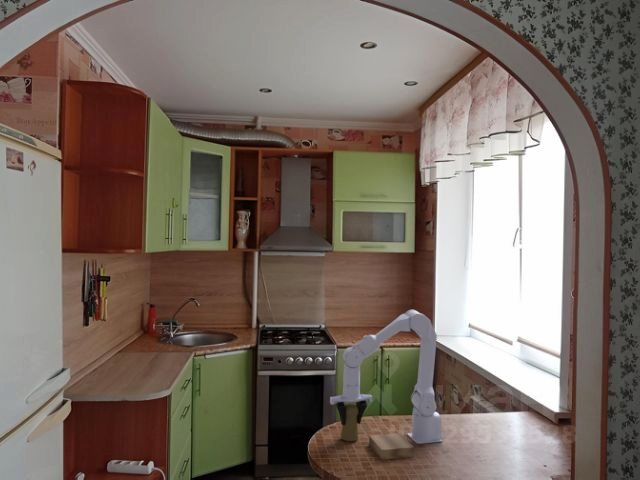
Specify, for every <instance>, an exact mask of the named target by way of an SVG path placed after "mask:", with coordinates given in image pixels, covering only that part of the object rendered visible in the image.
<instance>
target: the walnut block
mask: <svg viewBox="0 0 640 480" xmlns="http://www.w3.org/2000/svg"><path fill="white" fill-rule="evenodd" d="M368 446H370V448H371V449H372V450H373V451H374V452H375V454H376V455H377V456H378V457H379V459H380V460H391V459H393V460H395V459H400V458H401V459H403V458H412V457H413V458H414V457H415V446H414V445H413V444H412V443H411V442H409V440H408V439H406V437H404V435H402V434H401V432H398V433H388V434H387V433H386V434H375V435H368Z"/></svg>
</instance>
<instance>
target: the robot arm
mask: <svg viewBox="0 0 640 480" xmlns="http://www.w3.org/2000/svg"><path fill="white" fill-rule="evenodd" d="M411 330H412V331H413V332H415V333H416V334H417V336H419V338H420V348H419V358H418V370H417V382H416V383H415V385H414V389H413V392H412V394H411V396H410V401H411V403H412V405H413V408H412V417H411V418H412V419H411V420H412V421H411V422H412V423H411V432H408V433H407V436H408V437H409V438H410V439H411V440H412V441H413V442H415V443H416V444H418V445H419V444H430V443H440V442H441V443H442V442H443V440H442V419H441V416H440V414H439V412H438V411H436V410H437V402H436V400H435V396H436V395H435V391H434V387H433V383H434V374H435V373H434V372H435V371H434V370H435V362H436V361H435V360H436V351H437V339H438V336H437V333H436V331H435V329H434V326H433V324H432V321H431V320H430V319H429V318H428V317H427V316H426V315H425V314H424V313H420V312H419V311H417V310H415V309H409V310H407V311H406V312H405V313H402V314H400V315H399V316H398V317H397V318H395V319H394V320H393V321H392V322H390V323H389V324H388V325H386V326H385V327H384V328H382V329H381V330H379V332H377V333H376V334H368V335H367V334H365V335H364V336H363V337H362V339H361V340H358V342H357V343H353V344H351V347H350V346H349V347H346V349H344V351H343V352H342V355H341V356H342V357H341V358H342V360H343V372H342V373H343V375H342V377H343V378H342V386H343V387H342V394H340V395H336V396H335V395H334V396H330V397H329V403H330V405H335V406H336V408H337V411H338V415H339V418H340V424H341V425H342V426H343V425H345V411H346V407H345V405H346V404H352V403H355V405H356V406H357V407H358V409H359V412H358V415H357V425H361V421H362V418H363V415H364V413H365V411H366V409H367V408H368V403H367V402H370V403H372V402H373V395H371V394H364V393H362V394H361V392H360V391H361V365H362V363H363V360H365V359H367V358H368V357H369V356H371V355H372V354H374V353H375V352H377V351H378V350H379V349H380V347H381V344H382V343H383V342H385V341H387V340H388V339H390V338H391V337H393V336H395V335H397V334H398V333H399V332H411Z"/></svg>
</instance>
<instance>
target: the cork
mask: <svg viewBox="0 0 640 480" xmlns="http://www.w3.org/2000/svg"><path fill="white" fill-rule="evenodd" d="M345 407H346V411H345V425H342V427H341V431H340V439H342V440H343V441H346V442H347V441H348V442H355V441H358V439H359V431H358V429H359V428H358V423H357V415H358V412H359V409H358V407H357V406H356V404H354V403H346V404H345Z"/></svg>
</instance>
